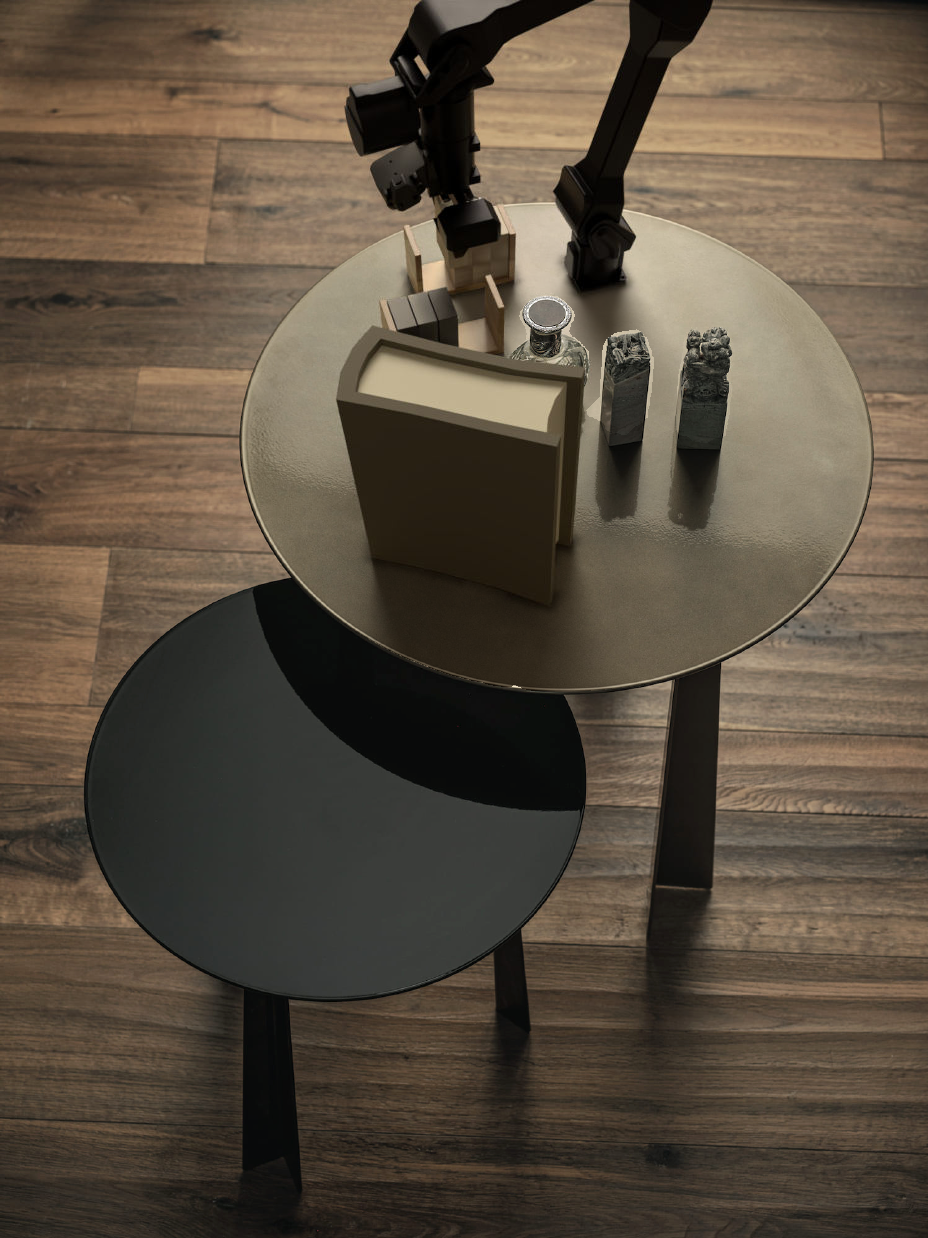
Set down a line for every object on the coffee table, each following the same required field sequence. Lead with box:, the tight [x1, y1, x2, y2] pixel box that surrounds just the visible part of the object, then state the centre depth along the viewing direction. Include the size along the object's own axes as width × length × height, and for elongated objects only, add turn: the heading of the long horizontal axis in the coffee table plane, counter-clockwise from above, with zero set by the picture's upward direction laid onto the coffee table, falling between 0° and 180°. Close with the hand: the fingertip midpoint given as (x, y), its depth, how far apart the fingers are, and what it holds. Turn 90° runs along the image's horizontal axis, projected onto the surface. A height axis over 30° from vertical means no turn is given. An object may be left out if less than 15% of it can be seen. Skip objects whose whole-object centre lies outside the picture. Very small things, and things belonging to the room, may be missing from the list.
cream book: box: [434, 196, 468, 269], centre depth 127 cm, size 2×5×7 cm, turn 18°
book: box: [335, 324, 587, 607], centre depth 111 cm, size 22×9×28 cm, turn 72°
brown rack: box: [402, 203, 517, 296], centre depth 139 cm, size 13×6×8 cm, turn 106°
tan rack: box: [378, 275, 506, 355], centre depth 133 cm, size 14×6×8 cm, turn 106°
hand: (451, 241), depth 129 cm, fingers closed on cream book, 5 cm apart
